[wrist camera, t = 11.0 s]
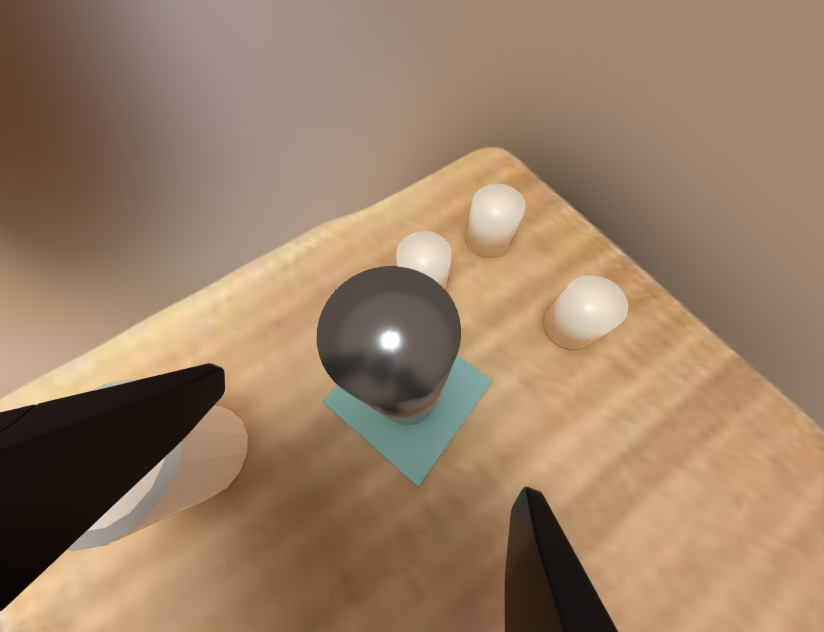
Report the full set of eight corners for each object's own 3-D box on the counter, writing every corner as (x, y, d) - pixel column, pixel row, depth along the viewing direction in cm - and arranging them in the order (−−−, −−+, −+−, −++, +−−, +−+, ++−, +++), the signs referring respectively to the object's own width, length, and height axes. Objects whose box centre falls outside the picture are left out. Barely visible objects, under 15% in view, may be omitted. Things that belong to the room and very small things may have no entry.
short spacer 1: (427, 313, 23) (429, 289, 20) (390, 286, 24) (384, 259, 20) (456, 278, 24) (462, 249, 21) (419, 254, 25) (418, 222, 21)
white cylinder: (182, 540, 19) (53, 596, 12) (132, 448, 21) (-3, 453, 14) (278, 454, 20) (210, 462, 14) (223, 376, 22) (139, 350, 16)
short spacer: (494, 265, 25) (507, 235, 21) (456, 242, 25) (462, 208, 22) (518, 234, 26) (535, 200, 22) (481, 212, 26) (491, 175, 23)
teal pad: (418, 486, 19) (418, 487, 19) (324, 402, 21) (322, 401, 21) (490, 381, 21) (492, 380, 21) (399, 314, 23) (398, 312, 23)
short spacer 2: (598, 351, 22) (632, 331, 18) (544, 347, 22) (567, 327, 18) (592, 303, 23) (622, 276, 19) (542, 300, 23) (562, 273, 20)
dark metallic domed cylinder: (413, 438, 20) (399, 437, 8) (365, 398, 21) (286, 342, 9) (450, 387, 21) (489, 316, 9) (403, 351, 22) (379, 243, 10)
